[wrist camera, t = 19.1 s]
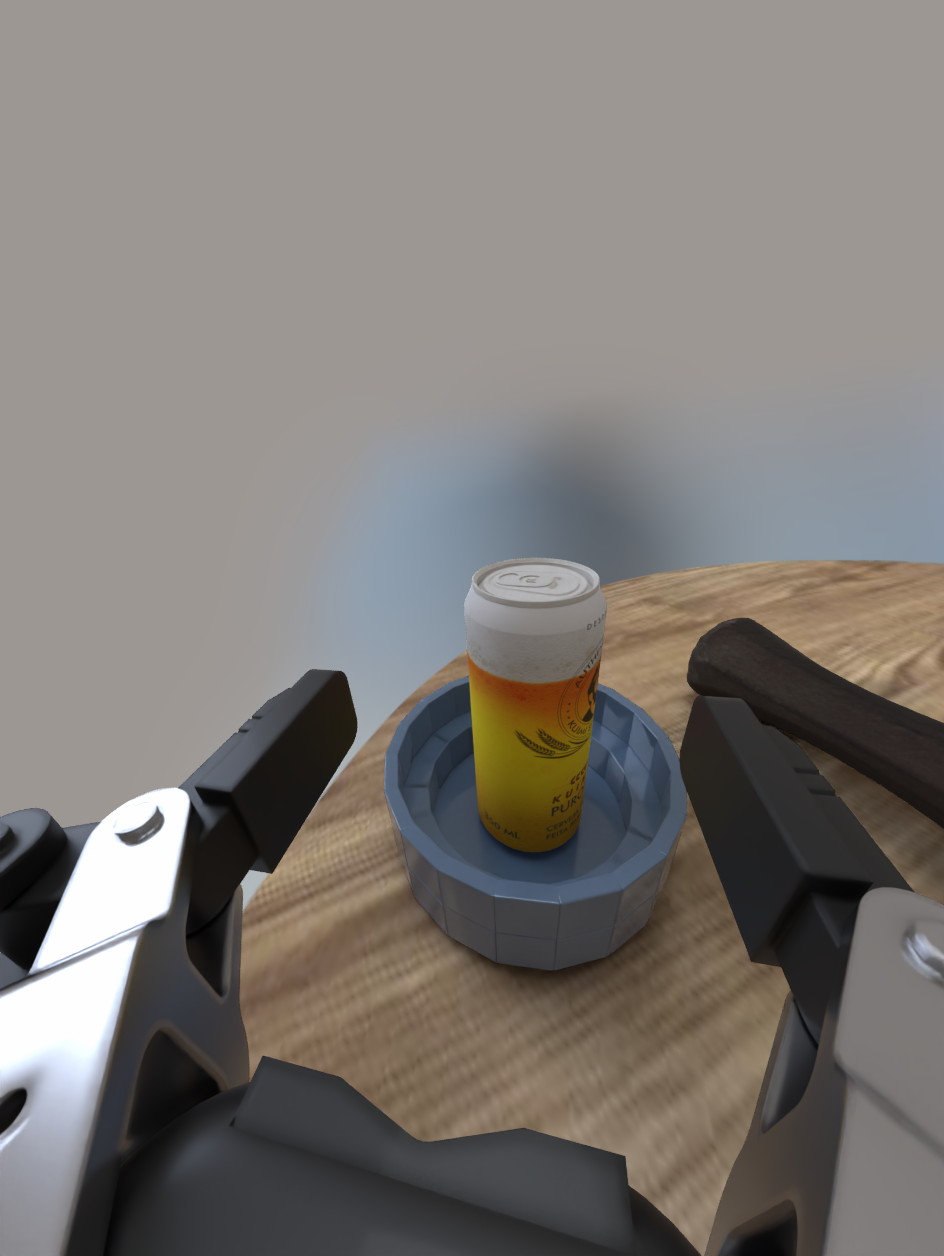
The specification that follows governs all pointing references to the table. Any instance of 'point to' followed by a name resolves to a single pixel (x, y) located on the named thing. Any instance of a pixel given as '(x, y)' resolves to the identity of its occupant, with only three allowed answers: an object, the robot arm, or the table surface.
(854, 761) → the dark brown pestle
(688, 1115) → the table surface
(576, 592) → the beer can
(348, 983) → the table surface
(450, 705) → the blue bowl
